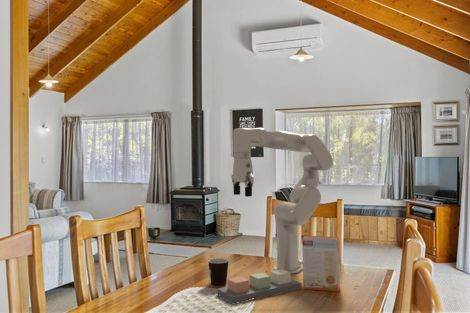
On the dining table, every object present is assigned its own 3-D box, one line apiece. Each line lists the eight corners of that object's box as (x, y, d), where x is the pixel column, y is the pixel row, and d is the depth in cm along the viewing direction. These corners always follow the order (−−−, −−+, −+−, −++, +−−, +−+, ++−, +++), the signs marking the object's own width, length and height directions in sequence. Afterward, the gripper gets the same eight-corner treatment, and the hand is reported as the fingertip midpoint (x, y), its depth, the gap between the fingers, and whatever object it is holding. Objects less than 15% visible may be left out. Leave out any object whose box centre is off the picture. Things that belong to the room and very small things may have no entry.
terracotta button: (241, 289, 172) (240, 276, 172) (249, 293, 166) (249, 280, 166) (227, 291, 169) (227, 279, 168) (235, 296, 163) (235, 282, 163)
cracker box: (339, 287, 176) (339, 236, 176) (338, 292, 170) (337, 239, 170) (305, 284, 181) (304, 234, 180) (302, 289, 175) (302, 237, 175)
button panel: (283, 281, 186) (283, 275, 186) (301, 288, 175) (301, 282, 175) (217, 295, 170) (217, 288, 170) (232, 304, 159) (232, 297, 159)
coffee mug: (226, 287, 178) (226, 263, 178) (206, 286, 180) (205, 262, 180) (232, 279, 190) (232, 256, 190) (213, 278, 191) (212, 256, 191)
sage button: (262, 284, 177) (261, 272, 177) (270, 288, 171) (270, 276, 171) (249, 287, 174) (249, 274, 174) (257, 291, 168) (257, 278, 168)
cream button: (282, 280, 182) (281, 268, 182) (290, 284, 177) (290, 272, 176) (270, 283, 179) (270, 271, 179) (278, 287, 173) (278, 274, 173)
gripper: (260, 156, 185) (260, 196, 185) (239, 156, 200) (239, 193, 200) (245, 156, 181) (245, 197, 181) (225, 156, 196) (225, 194, 196)
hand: (242, 195), depth 191 cm, fingers open, 9 cm apart
